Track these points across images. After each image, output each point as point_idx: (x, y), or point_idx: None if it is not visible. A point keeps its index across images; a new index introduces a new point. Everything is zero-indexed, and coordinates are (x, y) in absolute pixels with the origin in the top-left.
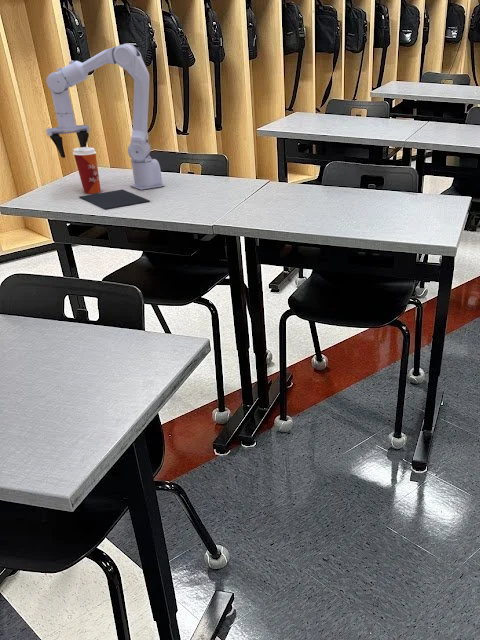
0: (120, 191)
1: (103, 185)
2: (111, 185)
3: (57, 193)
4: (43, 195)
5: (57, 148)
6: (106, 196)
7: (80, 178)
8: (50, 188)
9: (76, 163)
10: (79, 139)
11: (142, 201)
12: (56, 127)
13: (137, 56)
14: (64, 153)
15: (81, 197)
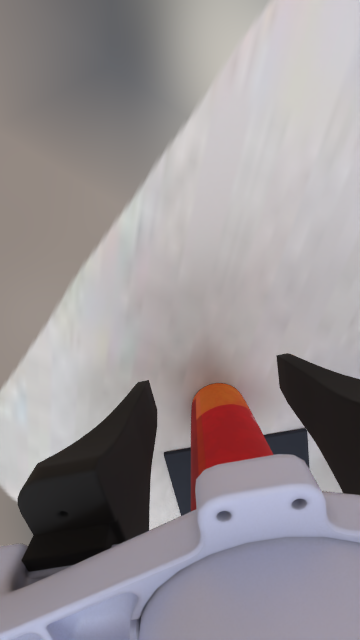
0: (290, 450)
1: (280, 335)
2: (304, 348)
3: (108, 377)
4: (61, 383)
5: (115, 411)
6: None
7: (191, 434)
8: (90, 294)
9: (191, 490)
10: (334, 415)
11: None
12: (103, 598)
13: None
14: (155, 432)
15: (167, 466)
